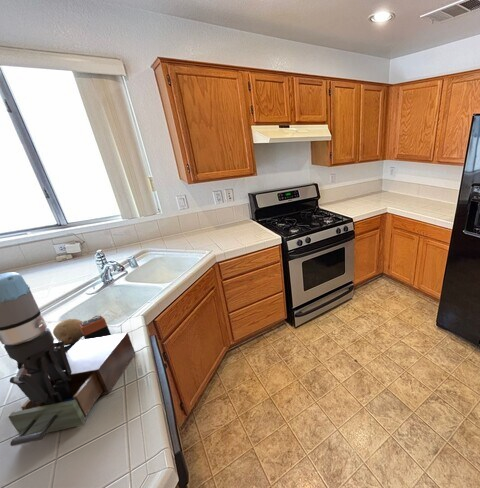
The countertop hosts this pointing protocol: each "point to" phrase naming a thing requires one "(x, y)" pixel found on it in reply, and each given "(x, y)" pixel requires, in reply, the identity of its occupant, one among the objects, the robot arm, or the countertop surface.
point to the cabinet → (101, 358)
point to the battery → (94, 328)
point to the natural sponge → (68, 331)
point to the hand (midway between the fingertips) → (65, 408)
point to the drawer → (57, 410)
